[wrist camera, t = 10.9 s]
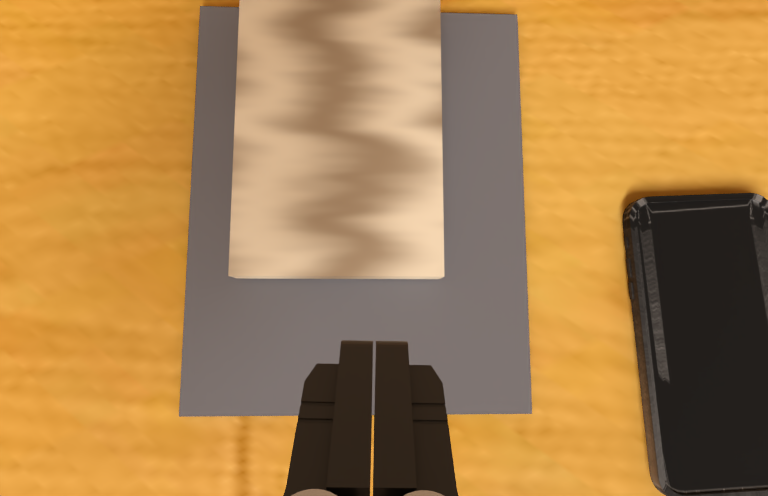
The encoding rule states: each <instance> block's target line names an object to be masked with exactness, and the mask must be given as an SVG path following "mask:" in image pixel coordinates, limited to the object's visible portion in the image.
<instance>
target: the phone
mask: <svg viewBox="0 0 768 496" xmlns="http://www.w3.org/2000/svg"><path fill="white" fill-rule="evenodd" d="M623 230H624V241H625V249H626V258H627V259H626V262H627V271H628V277H629V292H630V299H631V304H632V313H633V322H634V331H635V341H636V350H637V359H638V368H639V377H640V387H641V396H642V405H643V414H644V423H645V432H646V442H647V451H648V460H649V469H650V476H651V480H652V482H653V484H654V485H655V487H656V488H657V489H658V490H659V491H660V492H661V493H662V494H664V495H666V496H768V200H767V199H765V198H764V197H763V196H761V195H758V194H754V193H737V194H709V195H681V196H653V197H645V198H641V199H639V200H637V201H635V202H633V203H631V204H629V206H628V207H627V208H626V209H625V212H624V214H623Z"/></svg>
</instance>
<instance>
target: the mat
mask: <svg viewBox="0 0 768 496" xmlns="http://www.w3.org/2000/svg"><path fill="white" fill-rule="evenodd" d="M440 19H441V84H442V149H443V213H444V277H443V278H441V279H244V278H234V277H230V276H228V271H229V247H230V222H231V198H232V173H233V149H234V124H235V100H236V75H237V51H238V26H239V7H213V6H200V21H199V40H198V59H197V79H196V98H195V117H194V137H193V156H192V175H191V195H190V214H189V233H188V253H187V272H186V291H185V311H184V330H183V349H182V369H181V388H180V407H179V416H296V415H299V410H300V405H301V398H302V392H303V387H304V381H305V379H306V378H307V377H308V375H309V374H310V372H311V371H312V370H313V368H314V367H315V365H316V364H317V363H320V364H339V356H340V346H341V341H342V340H355V341H373V375H372V415H374V411H375V362H376V341H407V342H408V351H409V365H431V366H432V367H433V369H434V370H435V372H436V374H437V375H438V377H439V378H440V380H441V381H442V383H443V389H444V397H445V407H446V412H447V414H532V402H531V374H530V347H529V320H528V293H527V266H526V239H525V212H524V185H523V158H522V131H521V104H520V77H519V50H518V22H517V15H511V14H474V13H440Z"/></svg>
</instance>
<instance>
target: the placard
mask: <svg viewBox="0 0 768 496" xmlns="http://www.w3.org/2000/svg"><path fill="white" fill-rule="evenodd" d="M228 276H230V277H234V278H244V279H441V278H443V277H444V213H443V149H442V84H441V19H440V0H240V2H239V26H238V51H237V75H236V100H235V124H234V149H233V173H232V198H231V222H230V247H229V271H228Z"/></svg>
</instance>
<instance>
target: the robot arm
mask: <svg viewBox="0 0 768 496" xmlns="http://www.w3.org/2000/svg"><path fill="white" fill-rule="evenodd" d="M372 375H373V341H355V340H342V341H341V346H340V356H339V364H320V363H317V364H316V365H315V367H314V368H313V370H312V371H311V372H310V374H309V375H308V377H307V378H306V379H305V381H304V387H303V392H302V398H301V405H300V410H299V416H298V423H297V427H296V433H295V439H294V445H293V450H292V456H291V462H290V468H289V474H288V479H287V485H286V489H285V493H284V495H283V496H370V469H371V425H372ZM447 421H448V420H447V412H446V407H445V397H444V389H443V383H442V381H441V380H440V378H439V377H438V375H437V374H436V372H435V370H434V369H433V367H432V366H431V365H409V351H408V342H407V341H376V362H375V411H374V470H373V496H458V493H457V488H456V481H455V473H454V465H453V458H452V450H451V442H450V435H449V427H448V422H447Z"/></svg>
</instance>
